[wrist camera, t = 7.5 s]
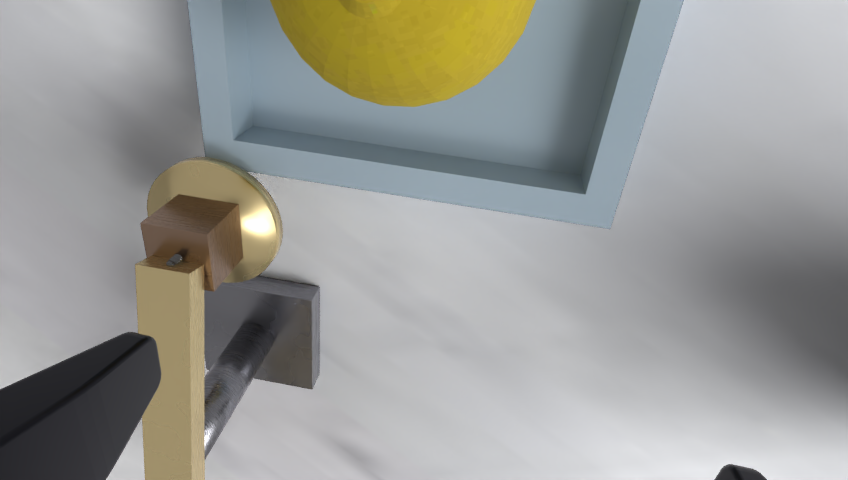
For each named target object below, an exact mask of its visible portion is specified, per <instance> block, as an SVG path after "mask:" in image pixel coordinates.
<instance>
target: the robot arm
mask: <svg viewBox="0 0 848 480" xmlns="http://www.w3.org/2000/svg"><path fill="white" fill-rule="evenodd" d="M160 381H161V367H160V361H159V355H158V349H157V343H156V341H155V339H154V338H153V337H151V336H148V335H143V334H139V333H134V332H127V333H124V334H121V335H119V336H117V337H115V338H113V339H110V340H108V341H106V342H104V343H102V344H99V345H97V346H95V347H93V348H91V349H88V350H86V351H84V352H82V353H80V354H77V355H75V356H73V357H71V358H68V359H66V360H64V361H62V362H60V363H57V364H55V365H53V366H51V367H49V368H46V369H44V370H42V371H40V372H38V373H35V374H33V375H31V376H29V377H27V378H24V379H22V380H20V381H18V382H16V383H13V384H11V385H9V386H7V387H5V388H2V389H0V480H106V478H107V477H108V475H109V474H110V472H111V471H112V469H113V467H114V465H115V464H116V462H117V460H118V459H119V457H120V455H121V453H122V452H123V450H124V448H125V446H126V444H127V443H128V441H129V439H130V437H131V435H132V434H133V432H134V430H135V428H136V426H137V425H138V423H139V421H140V419H141V417H142V416H143V414H144V412H145V410H146V409H147V407H148V405H149V403H150V401H151V400H152V398H153V396H154V394H155V392H156V391H157V389H158V387H159V384H160ZM715 480H767V479H766V478H765V477H764V476H763V475H762V474H760V473H759V472H758V471H756V470H754V469H751V468H746V467H742V466H737V465H733V464H728V465H726V466H724V467H723V468H722V469H721V471H720V472H719V474H718V475H717V477H716V478H715Z"/></svg>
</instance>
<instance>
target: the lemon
mask: <svg viewBox="0 0 848 480" xmlns="http://www.w3.org/2000/svg"><path fill="white" fill-rule="evenodd" d="M270 2H271V4H272V6H273V9H274V11H275V14H276V16H277V18H278V21H279V23H280V26H281V28H282V30H283V32H284V33H285V35H286V36H287V38H288V39H289V41H290V42H291V44H292V45H293V47H294V48H295V49H296V51H297V52H298V54H299V55H300V57H301V58H302V59H303V60H304V61H305V62H306V63H307V64H308V65H309V66H310V67H311V68H312V69H313V70H314V71H315V72H316V73H317V74H318V75H320V76H321V77H322V78H323V79H324V80H325V81H326V82H328V83H330V84H331V85H333V86H335V87H337V88H338V89H340V90H342V91H343V92H345V93H347V94H349V95H350V96H352V97H356V98H359V99H362V100H366V101H369V102H373V103H376V104H379V105H383V106H403V107H418V106H422V105H426V104H431V103H435V102H440V101H444V100H448V99H450V98H452V97H454V96H456V95H458V94H460V93H462V92H463V91H465V90H467V89H469V88H471V87H473V86H475V85H477V84H478V83H479V82H481V81H482V80H483V79H484V78H485V77H486V76H487V75H488V74H490V73H491V72H492V71H493V70H494V69H495V68H496V67H498V66H499V65H500V64H501V63H502V62H503V61H504V60H505V58H506V57H507V56H508V54H509V53H510V51H511V50H512V48H513V47H514V45H515V44H516V43H517V41H518V40H519V38H520V37H521V35H522V34H523V32H524V30H525V27H526V25H527V22H528V20H529V17H530V14H531V12H532V9H533V7H534V4H535V2H536V0H270Z"/></svg>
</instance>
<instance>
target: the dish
mask: <svg viewBox="0 0 848 480" xmlns="http://www.w3.org/2000/svg"><path fill="white" fill-rule="evenodd" d="M683 1H684V0H536V2H535V4H534V7H533V9H532V12H531V14H530V17H529V20H528V22H527V25H526V27H525V30H524V32H523V34H522V35H521V37H520V38H519V40H518V41H517V43H516V44H515V45H514V47H513V48H512V50H511V51H510V53H509V54H508V56H507V57H506V58H505V60H504V61H503V62H502V63H501V64H500V65H499V66H498V67H496V68H495V69H494V70H493V71H492V72H491V73H490V74H488V75H487V76H486V77H485V78H484V79H483V80H482V81H481V82H479V83H478V84H477V85H475V86H473V87H471V88H469V89H467V90H465V91H463V92H462V93H460V94H458V95H456V96H454V97H452V98H450V99H448V100H444V101H440V102H435V103H431V104H426V105H422V106H418V107H403V106H383V105H379V104H376V103H373V102H369V101H366V100H362V99H359V98H356V97H352V96H350V95H349V94H347V93H345V92H343V91H342V90H340V89H338V88H337V87H335V86H333V85H331V84H330V83H328V82H326V81H325V80H324V79H323V78H322V77H321V76H320V75H318V74H317V73H316V72H315V71H314V70H313V69H312V68H311V67H310V66H309V65H308V64H307V63H306V62H305V61H304V60H303V59H302V58H301V57H300V55H299V54H298V52H297V51H296V49H295V48H294V47H293V45H292V44H291V42H290V41H289V39H288V38H287V36H286V35H285V33H284V32H283V30H282V28H281V26H280V23H279V21H278V18H277V16H276V14H275V11H274V9H273V6H272V4H271V2H270V0H187V2H188V10H189V19H190V28H191V36H192V45H193V54H194V63H195V71H196V80H197V89H198V97H199V106H200V115H201V124H202V132H203V141H204V150H205V157H209V158H216V159H220V160H223V161H226V162H229V163H232V164H234V165H236V166H238V167H240V168H241V169H243V170H245V171H247V172H254V173H260V174H266V175H272V176H279V177H285V178H291V179H298V180H304V181H310V182H317V183H323V184H329V185H335V186H342V187H348V188H354V189H361V190H367V191H373V192H380V193H386V194H392V195H398V196H405V197H411V198H417V199H424V200H430V201H436V202H443V203H449V204H455V205H461V206H468V207H474V208H480V209H487V210H493V211H499V212H506V213H512V214H518V215H524V216H531V217H537V218H543V219H550V220H556V221H562V222H568V223H575V224H581V225H587V226H594V227H600V228H606V229H610V228H611V225H612V221H613V218H614V215H615V212H616V209H617V206H618V203H619V200H620V197H621V194H622V190H623V187H624V184H625V181H626V178H627V175H628V172H629V169H630V166H631V162H632V159H633V156H634V153H635V150H636V147H637V144H638V141H639V138H640V135H641V131H642V128H643V125H644V122H645V119H646V116H647V113H648V110H649V107H650V104H651V100H652V97H653V94H654V91H655V88H656V85H657V82H658V79H659V76H660V73H661V69H662V66H663V63H664V60H665V57H666V54H667V51H668V48H669V45H670V41H671V38H672V35H673V32H674V29H675V26H676V23H677V20H678V17H679V14H680V10H681V7H682V4H683Z"/></svg>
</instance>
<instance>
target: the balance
mask: <svg viewBox="0 0 848 480" xmlns="http://www.w3.org/2000/svg"><path fill="white" fill-rule="evenodd" d="M147 211H148V218H146V219H145V220H144V221H143V222H141V223H140V224H141V230H142V235H143V240H144V245H145V250H146V255H147V258H146V259H144V260H142V261H141V262H139V263H137V264H135V271H136V293H137V315H138V333H139V334H143V335H148V336H151V337H153V338H154V339H155V341H156V343H157V349H158V355H159V361H160V367H161V381H160V384H159V387H158V389H157V391H156V392H155V394H154V396H153V398H152V400H151V401H150V403H149V405H148V407H147V409H146V410H145V412H144V414H143V416H142V424H143V446H144V467H145V480H205V459H206V457H207V455H208V454H209V452H210V450H211V449H212V447H213V445H214V443H215V442H216V440H217V438H218V437H219V435H220V433H221V432H222V430H223V428H224V427H225V425H226V423H227V422H228V420H229V418H230V417H231V415H232V413H233V412H234V410H235V408H236V406H237V405H238V403H239V401H240V400H241V398H242V396H243V395H244V393H245V391H246V390H247V388H248V386H249V385H250V383H251V381H252V380H253V378H255V379H260V380H265V381H271V382H276V383H281V384H286V385H292V386H297V387H302V388H307V389H313V387H314V385H315V382H316V380H317V378H318V376H319V327H320V287H318V286H312V285H307V284H301V283H295V282H289V281H284V280H278V279H272V278H266V277H261V276H258V275H259V274H261V273H262V272H263V271H264V270H265V269H266V268H267V267H268V266H269V265H270V263H271V262H272V261H273V259H274V258H275V257H276V255H277V253H278V251H279V249H280V246H281V242H282V236H283V228H282V221H281V217H280V214H279V211H278V208H277V206H276V204H275V202H274V200H273V199H272V197H271V196H270V194H269V193H268V191H267V190H266V189H265V188H264V187H263V185H262V184H261V183H260V182H259V181H257V180H256V179H255V178H254V177H253V176H252V175H250V174H249V173H248V172H246V171H245V170H243V169H241V168H240V167H238V166H236V165H234V164H232V163H229V162H226V161H223V160H220V159H216V158H209V157H195V158H189V159H186V160H183V161H180V162H178V163H176V164H175V165H173V166H172V167H170V168H169V169H167V170H166V171H164V172H163V173H162V174H160V175H159V176H158V178H157V179H156V180H155V181H154V183H153V185H152V186H151V189H150V191H149V195H148V200H147ZM204 354H205V361H206V368H207V370H209V371H208V373H207V374H206V376H205V377H204Z"/></svg>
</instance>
